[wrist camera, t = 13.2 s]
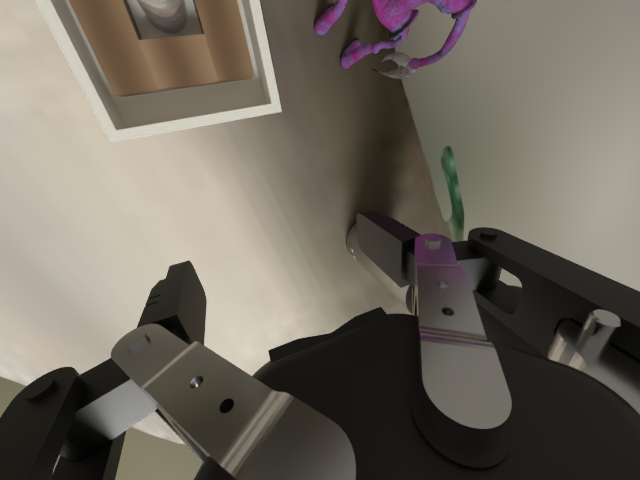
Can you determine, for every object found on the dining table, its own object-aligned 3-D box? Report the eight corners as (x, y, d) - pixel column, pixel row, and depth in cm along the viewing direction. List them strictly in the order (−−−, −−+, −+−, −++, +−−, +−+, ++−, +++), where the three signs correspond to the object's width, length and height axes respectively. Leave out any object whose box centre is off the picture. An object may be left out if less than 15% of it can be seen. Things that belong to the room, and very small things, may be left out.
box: (216, -151, 23) (217, -209, 19) (272, 112, 34) (281, 111, 30) (-31, -172, 19) (-99, -254, 15) (124, 139, 30) (110, 142, 25)
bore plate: (209, -94, 24) (209, -119, 22) (250, 78, 31) (254, 75, 28) (31, -100, 21) (6, -130, 18) (122, 97, 27) (114, 95, 25)
